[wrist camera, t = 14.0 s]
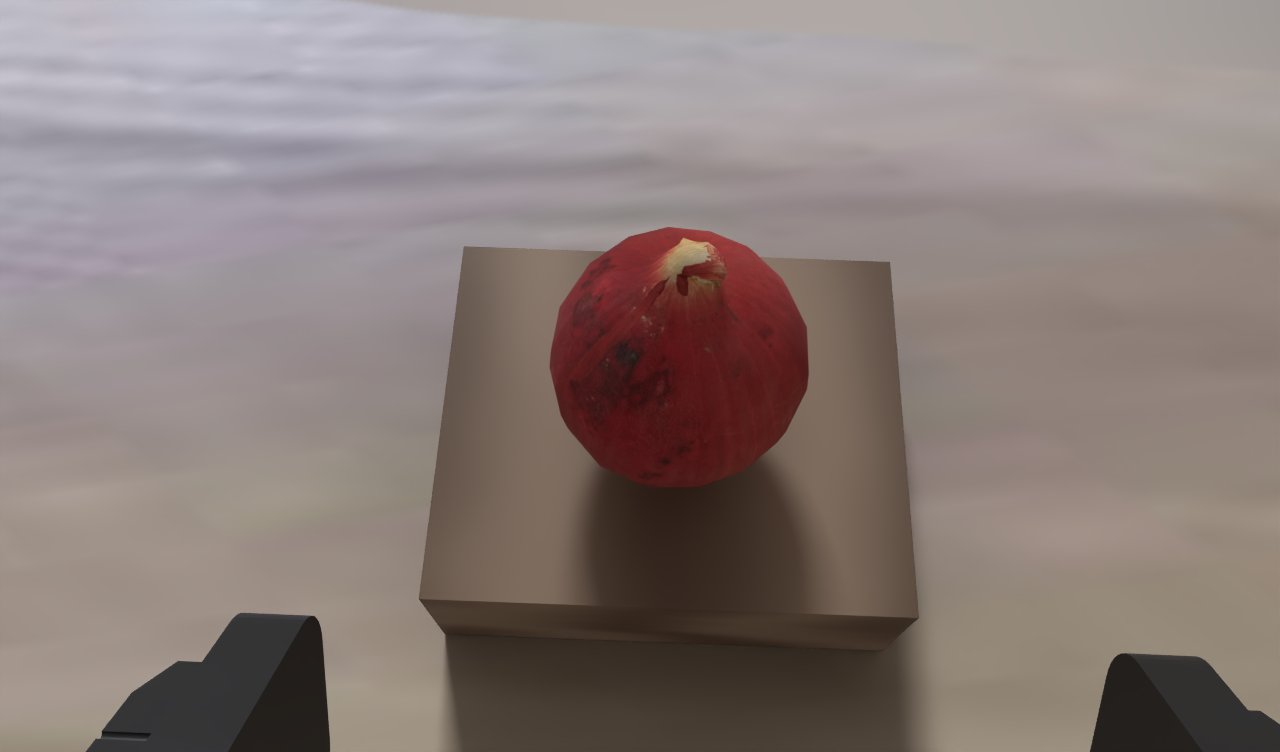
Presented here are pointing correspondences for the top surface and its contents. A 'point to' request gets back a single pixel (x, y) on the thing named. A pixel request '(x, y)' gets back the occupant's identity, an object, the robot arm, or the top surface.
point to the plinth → (669, 516)
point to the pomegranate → (679, 358)
